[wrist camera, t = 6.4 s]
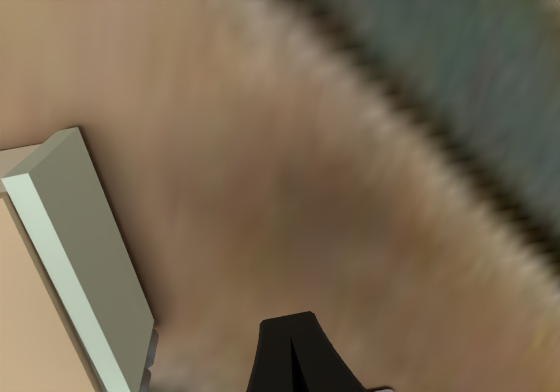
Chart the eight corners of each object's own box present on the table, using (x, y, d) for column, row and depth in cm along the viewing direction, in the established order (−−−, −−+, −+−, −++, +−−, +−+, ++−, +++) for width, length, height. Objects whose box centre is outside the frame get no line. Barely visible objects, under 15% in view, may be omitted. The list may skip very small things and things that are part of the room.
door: (162, 335, 22) (146, 419, 18) (142, 339, 22) (121, 425, 18) (80, 126, 17) (31, 172, 13) (55, 131, 17) (-3, 179, 13)
